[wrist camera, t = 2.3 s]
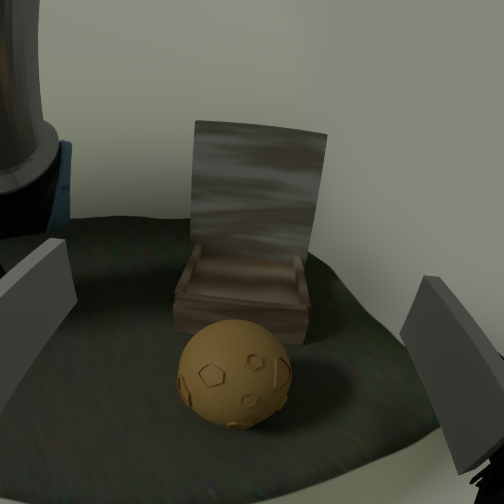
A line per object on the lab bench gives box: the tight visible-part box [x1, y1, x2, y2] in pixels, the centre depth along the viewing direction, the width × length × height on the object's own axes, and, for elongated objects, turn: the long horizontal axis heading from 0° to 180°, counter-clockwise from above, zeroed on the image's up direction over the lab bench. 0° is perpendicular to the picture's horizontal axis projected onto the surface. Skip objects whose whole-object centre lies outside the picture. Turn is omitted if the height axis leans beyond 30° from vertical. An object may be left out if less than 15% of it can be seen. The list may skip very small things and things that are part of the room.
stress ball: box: [177, 319, 292, 430], centre depth 25 cm, size 10×10×10 cm
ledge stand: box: [173, 120, 327, 346], centre depth 38 cm, size 16×18×24 cm
